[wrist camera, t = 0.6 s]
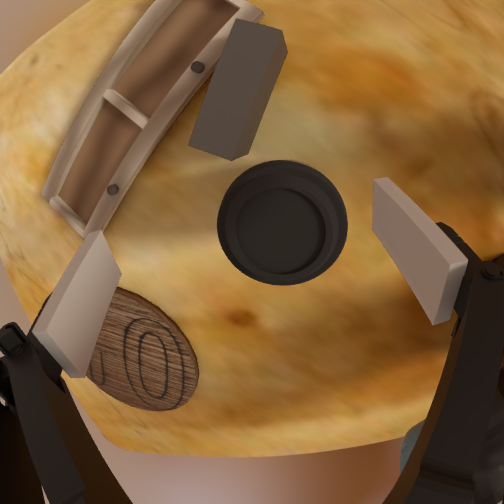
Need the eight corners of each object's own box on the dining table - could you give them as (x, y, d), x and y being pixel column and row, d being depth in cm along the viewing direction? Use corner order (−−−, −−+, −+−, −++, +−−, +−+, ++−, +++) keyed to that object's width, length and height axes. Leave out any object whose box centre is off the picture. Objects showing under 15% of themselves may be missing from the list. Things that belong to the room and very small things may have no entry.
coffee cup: (339, 223, 34) (359, 289, 20) (260, 238, 36) (230, 308, 22) (323, 141, 31) (337, 150, 17) (239, 159, 33) (192, 183, 19)
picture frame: (287, 52, 28) (282, 30, 21) (248, 153, 33) (231, 160, 26) (250, 41, 28) (233, 17, 21) (212, 140, 33) (186, 144, 26)
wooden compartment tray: (266, 19, 27) (261, 8, 24) (102, 239, 40) (87, 248, 37) (192, -23, 25) (182, -35, 22) (53, 190, 38) (36, 196, 35)
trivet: (83, 379, 54) (78, 385, 52) (57, 268, 44) (50, 273, 42) (199, 418, 51) (196, 426, 49) (201, 304, 41) (197, 312, 39)
